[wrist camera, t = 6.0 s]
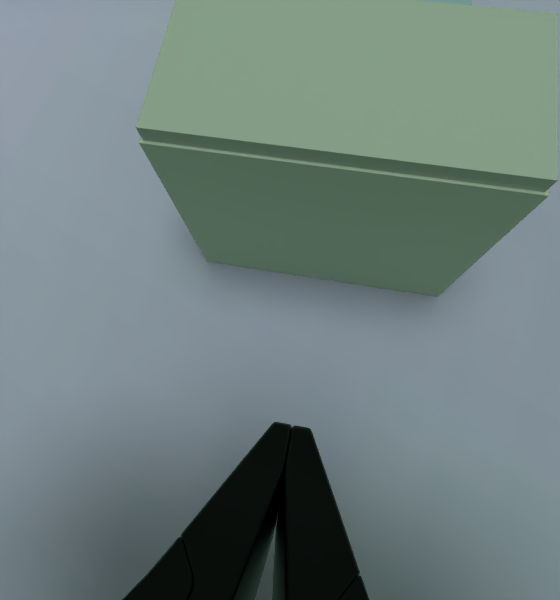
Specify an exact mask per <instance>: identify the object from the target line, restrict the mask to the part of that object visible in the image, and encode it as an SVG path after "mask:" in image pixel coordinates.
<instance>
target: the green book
mask: <svg viewBox="0 0 560 600" xmlns="http://www.w3.org/2000/svg"><path fill="white" fill-rule="evenodd" d="M136 128H137V130H138V132H139V134H140V136H141V138H140V142H139V143H140V145H141V147H142V149H143V150H144V152H145V154H146V156H147V157H148V159H149V161H150V163H151V164H152V166H153V168H154V170H155V171H156V173H157V175H158V177H159V178H160V180H161V182H162V184H163V185H164V187H165V189H166V191H167V192H168V194H169V196H170V198H171V199H172V201H173V203H174V205H175V206H176V208H177V210H178V212H179V213H180V215H181V217H182V219H183V220H184V222H185V224H186V226H187V227H188V229H189V231H190V233H191V234H192V236H193V238H194V240H195V241H196V243H197V245H198V247H199V248H200V250H201V252H202V254H203V255H204V257H205V259H206V261H207V262H213V263H220V264H227V265H233V266H240V267H246V268H253V269H259V270H266V271H273V272H279V273H286V274H292V275H299V276H305V277H312V278H318V279H325V280H332V281H338V282H345V283H351V284H358V285H364V286H371V287H378V288H384V289H391V290H397V291H404V292H410V293H417V294H423V295H430V296H439V295H440V294H441V293H442V292H443V291H444V290H445V289H446V288H447V287H449V286H450V285H451V284H452V283H453V282H454V281H455V280H456V279H457V278H458V277H460V276H461V275H462V274H463V273H464V272H465V271H466V270H467V269H468V268H470V267H471V266H472V265H473V264H474V263H475V262H476V261H477V260H478V259H479V258H481V257H482V256H483V255H484V254H485V253H486V252H487V251H488V250H489V249H491V248H492V247H493V246H494V245H495V244H496V243H497V242H498V241H499V240H500V239H502V238H503V237H504V236H505V235H506V234H507V233H508V232H509V231H510V230H512V229H513V228H514V227H515V226H516V225H517V224H518V223H519V222H520V221H521V220H523V219H524V218H525V217H526V216H527V215H528V214H529V213H530V212H531V211H533V210H534V209H535V208H536V207H537V206H538V205H539V204H540V203H541V202H542V201H544V200H545V199H546V198H547V197H548V196H549V188H550V187H551V186H552V185H553V184H554V183H555V182H556V181H558V13H550V12H539V11H528V10H518V9H507V8H496V7H485V6H474V5H463V4H453V3H442V2H431V1H420V0H176V1H175V4H174V8H173V11H172V14H171V17H170V20H169V24H168V27H167V30H166V33H165V36H164V39H163V43H162V46H161V49H160V52H159V55H158V59H157V62H156V65H155V68H154V71H153V74H152V78H151V81H150V84H149V87H148V90H147V94H146V97H145V100H144V103H143V106H142V109H141V113H140V116H139V119H138V122H137V125H136Z"/></svg>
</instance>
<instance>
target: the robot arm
mask: <svg viewBox="0 0 560 600" xmlns="http://www.w3.org/2000/svg"><path fill="white" fill-rule="evenodd" d="M278 510H279V511H278ZM277 516H278V518H277ZM276 521H277V525H276ZM275 526H276V536H275V555H274V574H273V594H272V600H369V597H368V594H367V591H366V589H365V586H364V583H363V580H362V577H361V576H359V574H360V572H359V569H358V566H357V563H356V560H355V557H354V554H353V551H352V548H351V545H350V542H349V539H348V536H347V533H346V530H345V527H344V525H343V522H342V519H341V516H340V513H339V510H338V507H337V504H336V501H335V498H334V495H333V492H332V489H331V486H330V483H329V480H328V478H327V475H326V472H325V469H324V466H323V463H322V460H321V457H320V454H319V451H318V448H317V445H316V442H315V439H314V436H313V434H312V431H311V429H310V428H306V427H301V426H293V427H291V425H290V424H285V423H279V422H274V423H273V424H272V425H271V426H270V427H269V428H268V430H267V431H266V432H265V433H264V434H263V436H262V437H261V438H260V439H259V440H258V442H257V443H256V444H255V445H254V447H253V448H252V449H251V450H250V451H249V453H248V454H247V455H246V456H245V457H244V459H243V460H242V461H241V462H240V464H239V465H238V466H237V467H236V468H235V470H234V471H233V472H232V473H231V474H230V476H229V477H228V478H227V479H226V481H225V482H224V483H223V484H222V485H221V487H220V488H219V489H218V490H217V491H216V493H215V494H214V495H213V496H212V498H211V499H210V500H209V501H208V502H207V504H206V505H205V506H204V507H203V508H202V510H201V511H200V512H199V513H198V515H197V516H196V517H195V518H194V519H193V521H192V522H191V523H190V524H189V525H188V527H187V528H186V529H185V530H184V532H183V533H182V534H181V537H179V538H178V539H177V540H176V541H175V542H174V543H173V545H172V546H171V547H170V548H169V549H168V551H167V552H166V553H165V554H164V555H163V556H162V558H161V559H160V560H159V561H158V562H157V563H156V564H155V566H154V567H153V568H152V569H151V570H150V571H149V572H148V574H147V575H146V576H145V577H144V578H143V579H142V580H141V581H140V582H139V583H138V584H137V585H136V586H135V587H134V588H133V589H132V590H131V591H130V592H129V593H128V594H127V595H126V596H125V597H124V598H123V599H122V600H254V599H255V596H256V592H257V589H258V586H259V582H260V579H261V575H262V572H263V568H264V565H265V562H266V558H267V555H268V551H269V548H270V544H271V541H272V538H273V534H274V530H275Z"/></svg>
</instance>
